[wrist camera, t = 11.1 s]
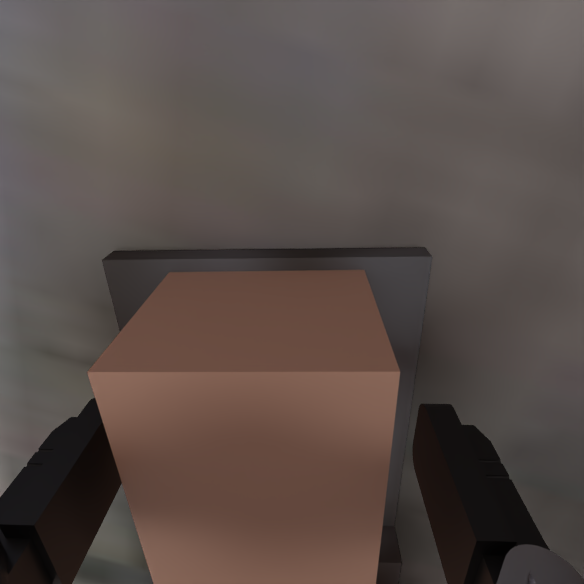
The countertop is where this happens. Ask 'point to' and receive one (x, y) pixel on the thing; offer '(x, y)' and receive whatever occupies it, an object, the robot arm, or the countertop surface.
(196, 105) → the countertop surface
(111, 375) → the rectangular block
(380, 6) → the countertop surface
